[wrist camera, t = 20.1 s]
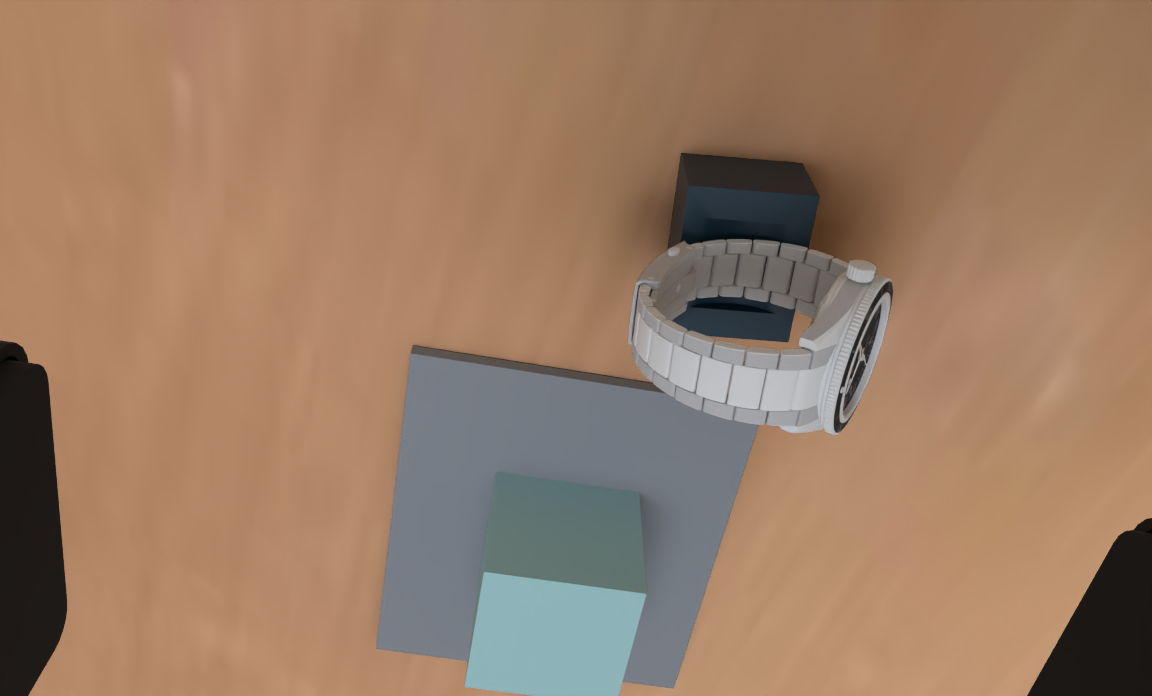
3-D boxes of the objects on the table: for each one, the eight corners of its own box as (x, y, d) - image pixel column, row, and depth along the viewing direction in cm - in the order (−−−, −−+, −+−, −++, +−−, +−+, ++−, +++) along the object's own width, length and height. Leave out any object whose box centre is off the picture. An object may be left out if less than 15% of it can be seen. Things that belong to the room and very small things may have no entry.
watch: (825, 305, 40) (901, 482, 30) (614, 288, 40) (624, 462, 30) (857, 165, 37) (952, 311, 28) (631, 146, 37) (647, 287, 27)
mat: (761, 400, 42) (763, 408, 42) (672, 678, 50) (673, 688, 49) (412, 345, 41) (410, 353, 40) (378, 639, 49) (376, 648, 48)
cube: (639, 492, 44) (646, 594, 38) (612, 598, 47) (615, 705, 41) (496, 472, 43) (483, 571, 38) (478, 580, 46) (464, 687, 41)
